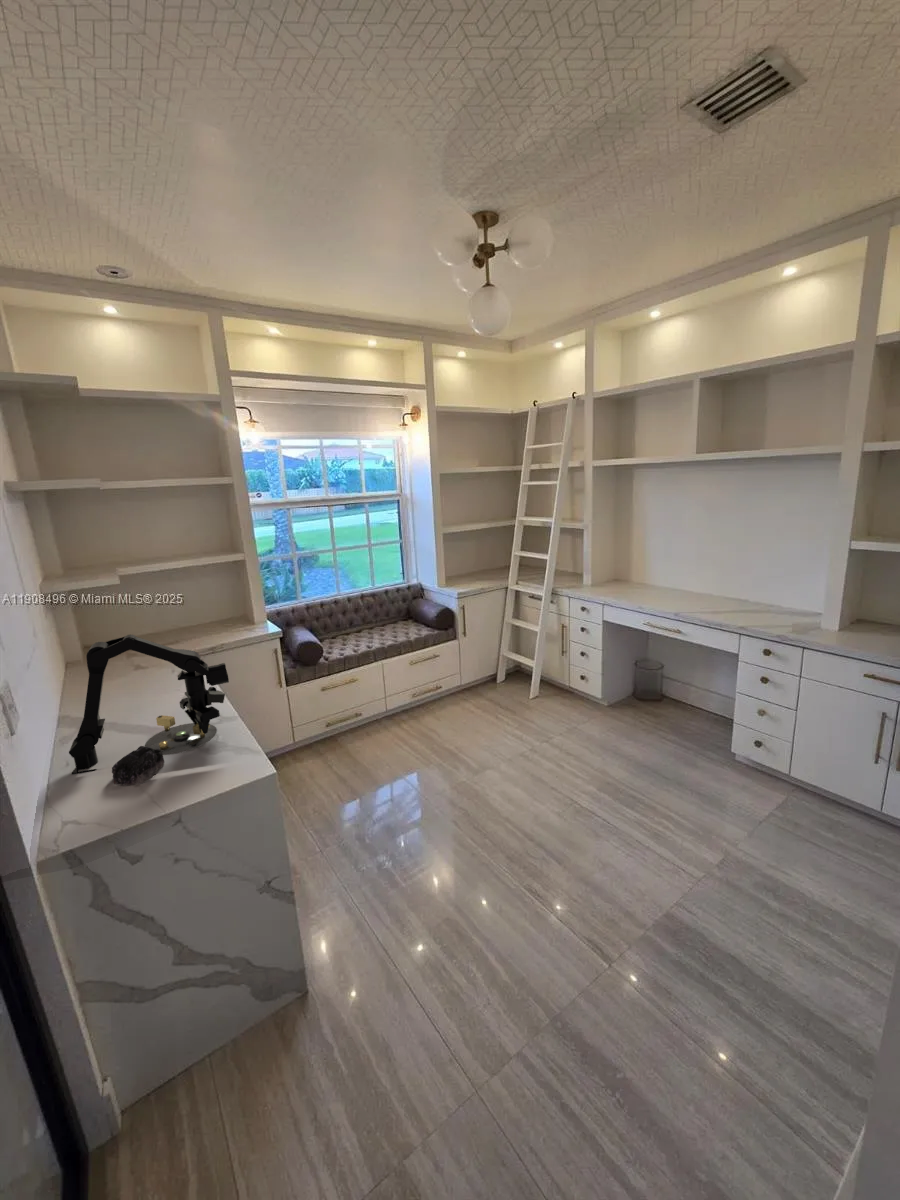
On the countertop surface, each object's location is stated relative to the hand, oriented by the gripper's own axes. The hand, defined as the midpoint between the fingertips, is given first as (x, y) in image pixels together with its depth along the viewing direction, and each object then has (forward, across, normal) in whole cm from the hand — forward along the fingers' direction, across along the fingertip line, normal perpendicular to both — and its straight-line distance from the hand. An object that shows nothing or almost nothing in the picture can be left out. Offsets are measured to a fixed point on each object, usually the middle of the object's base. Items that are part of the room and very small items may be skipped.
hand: (203, 731), depth 171 cm
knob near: (+2, 0, 0) cm, 2 cm away
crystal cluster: (+3, -7, +22) cm, 23 cm away
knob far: (+2, +14, +7) cm, 16 cm away
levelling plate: (+3, +5, +5) cm, 8 cm away
